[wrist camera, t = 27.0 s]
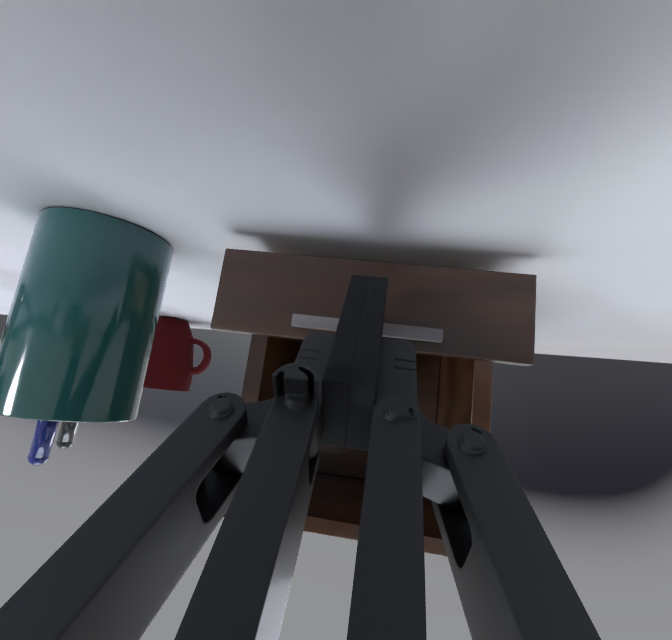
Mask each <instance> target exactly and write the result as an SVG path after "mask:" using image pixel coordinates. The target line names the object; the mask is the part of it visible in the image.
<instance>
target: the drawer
mask: <svg viewBox="0 0 672 640" xmlns="http://www.w3.org/2000/svg"><path fill="white" fill-rule="evenodd" d="M352 274H353V275H364V276H376V277H387V278H388V286H387V296H386V305H385V315H384V325H383V334H382V338H386V339H395V340H405V341H410V342H411V343H412V345H413V347H414V348H415V350H416V354H425V355H433V356H442V357H451V358H460V359H468V360H477V361H486V362H495V363H503V364H512V365H521V366H529V365H533V364H534V344H535V307H536V275H528V274H516V273H504V272H493V271H481V270H469V269H458V268H446V267H435V266H423V265H411V264H400V263H388V262H376V261H365V260H353V259H341V258H330V257H318V256H307V255H295V254H283V253H272V252H260V251H248V250H237V249H226V251H225V256H224V261H223V266H222V271H221V276H220V282H219V287H218V292H217V297H216V302H215V307H214V312H213V318H212V323H211V328H212V329H214V330H217V331H223V332H232V333H241V334H249V335H258V336H267V337H276V338H284V339H293V340H302V341H303V340H304V338H305V337H307V336H308V335H309V334H310V333H311V332H312V331H314V332H323V333H332V334H335V333H336V329H337V326H338V322H339V319H340V315H341V311H342V308H343V304H344V301H345V297H346V294H347V290H348V287H349V283H350V280H351V276H352Z"/></svg>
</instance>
